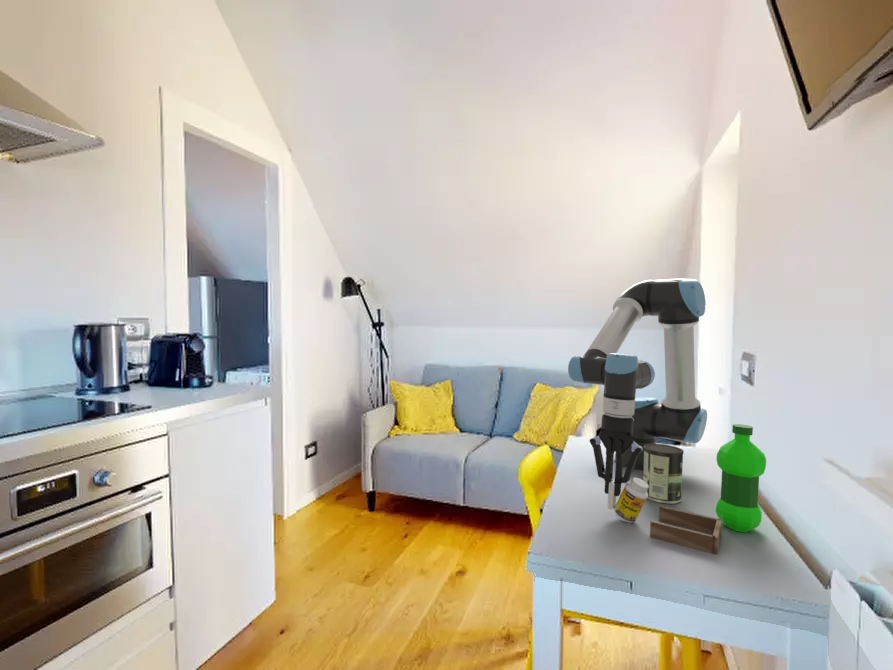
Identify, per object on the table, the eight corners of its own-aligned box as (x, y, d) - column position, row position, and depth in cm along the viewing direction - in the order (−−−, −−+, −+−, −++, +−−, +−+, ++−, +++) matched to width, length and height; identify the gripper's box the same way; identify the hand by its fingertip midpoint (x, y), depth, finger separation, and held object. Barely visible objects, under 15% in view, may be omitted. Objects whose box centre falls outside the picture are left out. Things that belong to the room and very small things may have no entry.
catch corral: (659, 519, 119) (660, 505, 119) (721, 534, 111) (722, 519, 111) (649, 536, 109) (650, 521, 109) (717, 554, 101) (717, 538, 101)
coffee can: (675, 492, 138) (677, 444, 138) (686, 505, 128) (688, 454, 128) (638, 489, 140) (640, 442, 140) (646, 502, 130) (648, 451, 130)
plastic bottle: (744, 518, 120) (749, 421, 120) (773, 537, 110) (778, 431, 109) (705, 517, 120) (709, 420, 120) (730, 536, 110) (735, 430, 109)
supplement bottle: (611, 514, 116) (627, 480, 114) (615, 505, 121) (631, 472, 118) (633, 527, 114) (650, 492, 111) (636, 517, 119) (653, 484, 116)
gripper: (587, 412, 119) (581, 504, 119) (641, 421, 111) (634, 519, 112) (597, 409, 125) (591, 496, 126) (648, 417, 117) (641, 510, 118)
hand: (611, 507), depth 119 cm, fingers closed
